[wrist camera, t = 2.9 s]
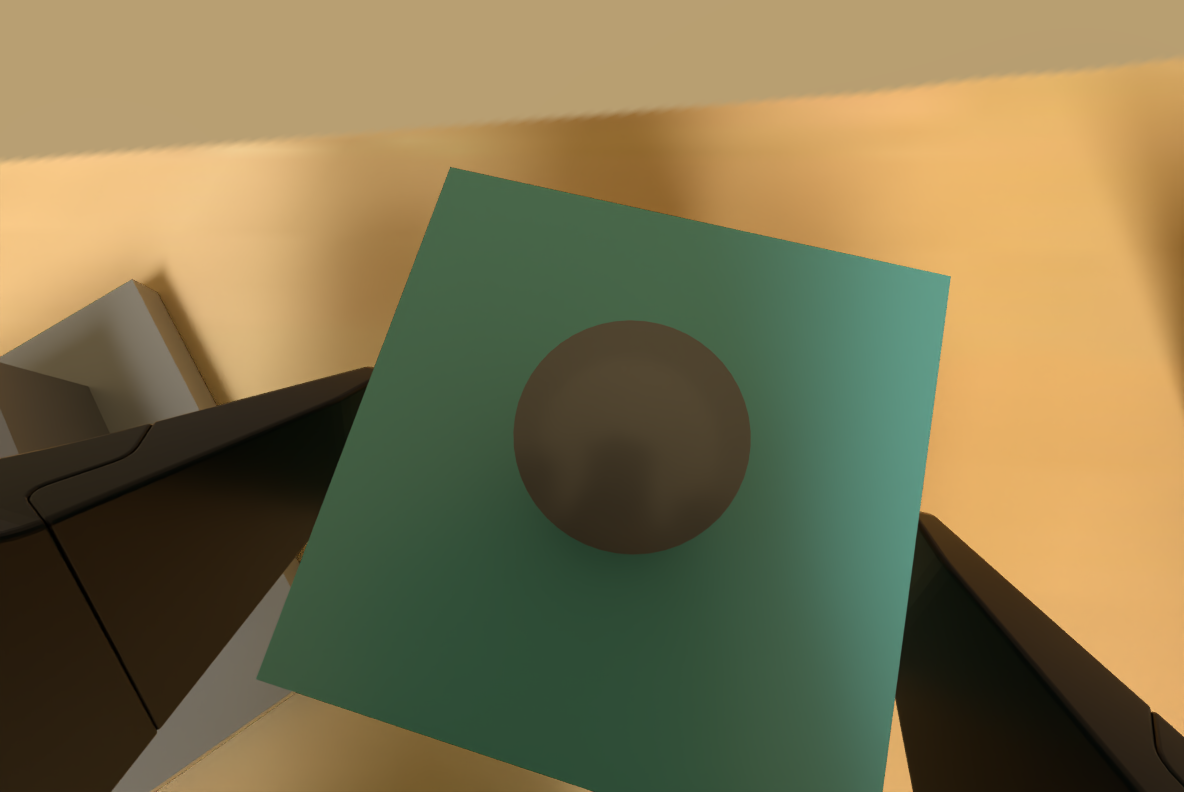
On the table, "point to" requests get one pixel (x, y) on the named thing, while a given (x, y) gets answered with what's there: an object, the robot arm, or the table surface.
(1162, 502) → the table surface
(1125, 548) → the table surface
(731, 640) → the plug
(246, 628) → the socket
